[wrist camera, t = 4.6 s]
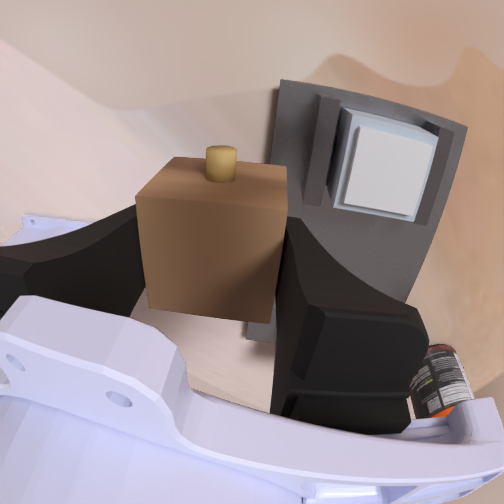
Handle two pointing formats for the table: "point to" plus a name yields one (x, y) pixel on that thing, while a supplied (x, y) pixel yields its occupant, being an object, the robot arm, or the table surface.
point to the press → (346, 221)
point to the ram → (380, 165)
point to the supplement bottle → (439, 383)
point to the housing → (213, 235)
